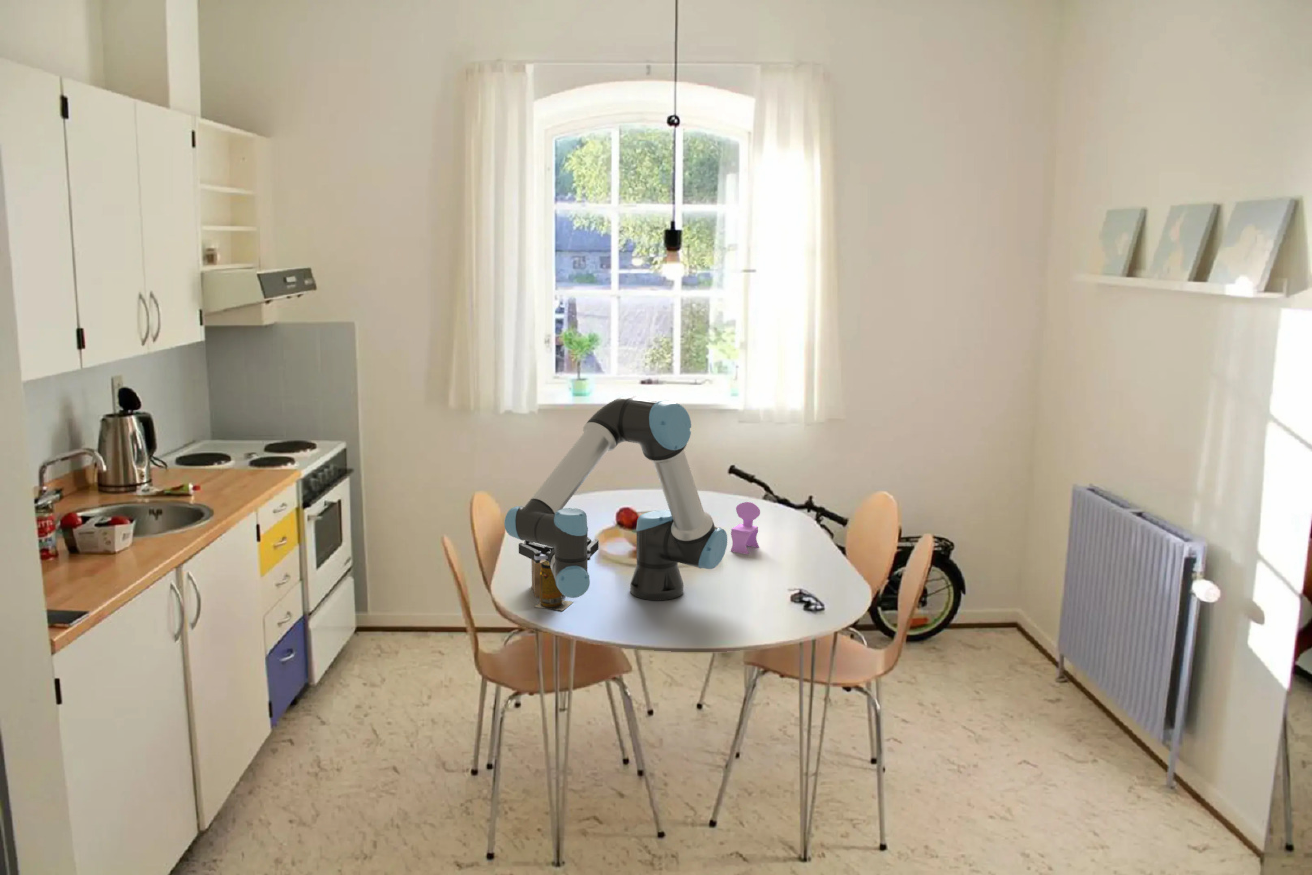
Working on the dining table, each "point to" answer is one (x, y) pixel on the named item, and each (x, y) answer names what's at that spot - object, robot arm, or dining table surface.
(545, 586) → the condiment
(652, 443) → the robot arm
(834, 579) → the dining table surface
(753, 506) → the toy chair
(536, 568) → the block
